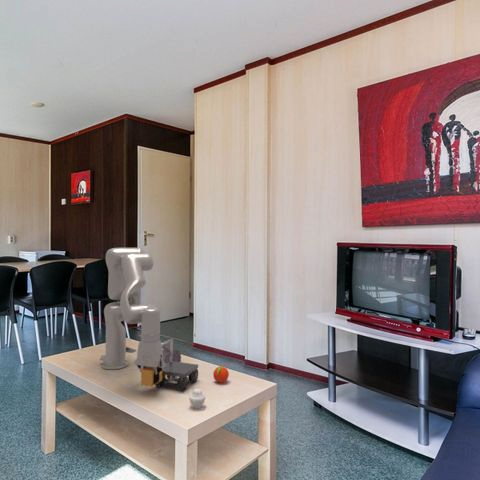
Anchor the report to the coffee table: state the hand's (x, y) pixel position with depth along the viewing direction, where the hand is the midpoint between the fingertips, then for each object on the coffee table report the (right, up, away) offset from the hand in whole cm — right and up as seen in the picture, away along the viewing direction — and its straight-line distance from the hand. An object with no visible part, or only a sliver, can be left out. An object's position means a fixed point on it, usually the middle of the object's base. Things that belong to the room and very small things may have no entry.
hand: (150, 381), depth 158 cm
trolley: (+9, -5, +11) cm, 15 cm away
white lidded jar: (+21, -6, -11) cm, 24 cm away
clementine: (+28, -6, +13) cm, 32 cm away
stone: (+1, -5, +36) cm, 37 cm away
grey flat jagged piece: (-31, -5, +62) cm, 70 cm away
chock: (0, -1, +1) cm, 2 cm away
